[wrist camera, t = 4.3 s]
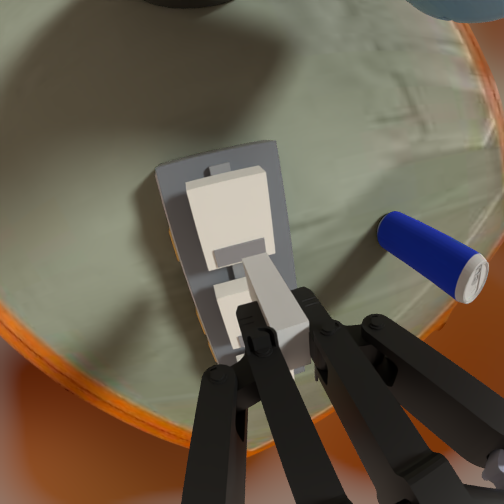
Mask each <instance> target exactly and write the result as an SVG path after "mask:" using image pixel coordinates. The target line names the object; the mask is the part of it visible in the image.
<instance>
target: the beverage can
mask: <svg viewBox="0 0 504 504" xmlns="http://www.w3.org/2000/svg"><path fill="white" fill-rule="evenodd" d="M377 238H378V242H379V244H380V246H381V247H382V248H384V249H385V250H387V251H388V252H390V253H391V254H393V255H394V256H396V257H397V258H399V259H400V260H402V261H403V262H405V263H406V264H408V265H409V266H410V267H412V268H413V269H415V270H416V271H418V272H419V273H420V274H422V275H423V276H424V277H426V278H427V279H429V280H430V281H431V282H433V283H434V284H435V285H437V286H438V287H439V288H441V289H442V290H443V291H445V292H446V293H447V294H449V295H450V296H451V297H453V298H454V299H455V300H457V301H459V302H462V303H466V304H468V303H470V302H472V301H473V300H474V299H475V298H476V297H477V295H478V294H479V293H480V291H481V290H482V288H483V286H484V284H485V282H486V279H487V276H488V271H489V264H488V262H487V261H486V259H485V258H484V257H483V256H482V255H481V254H480V253H478V252H477V251H475V250H473V249H471V248H470V247H468V246H466V245H464V244H462V243H461V242H459V241H457V240H455V239H453V238H451V237H449V236H447V235H446V234H444V233H442V232H440V231H438V230H436V229H434V228H432V227H430V226H428V225H426V224H424V223H422V222H420V221H418V220H415V219H413V218H411V217H409V216H407V215H405V214H403V213H400V212H398V211H394V212H390V213H389V214H387V215H385V216H384V217H383V218H382V220H381V221H380V223H379V225H378V229H377Z"/></svg>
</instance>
